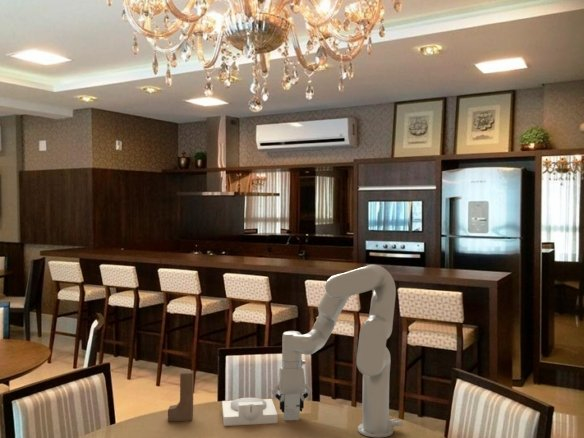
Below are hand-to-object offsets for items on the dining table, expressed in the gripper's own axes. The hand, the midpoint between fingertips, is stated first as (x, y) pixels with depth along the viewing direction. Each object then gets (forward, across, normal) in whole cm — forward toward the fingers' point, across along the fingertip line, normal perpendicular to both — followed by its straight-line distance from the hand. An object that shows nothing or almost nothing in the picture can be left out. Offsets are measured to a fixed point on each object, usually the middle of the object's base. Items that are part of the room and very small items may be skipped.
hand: (291, 410), depth 208 cm
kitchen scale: (+3, +16, -5) cm, 17 cm away
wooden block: (+3, +42, -5) cm, 42 cm away
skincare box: (+3, 0, 0) cm, 3 cm away
